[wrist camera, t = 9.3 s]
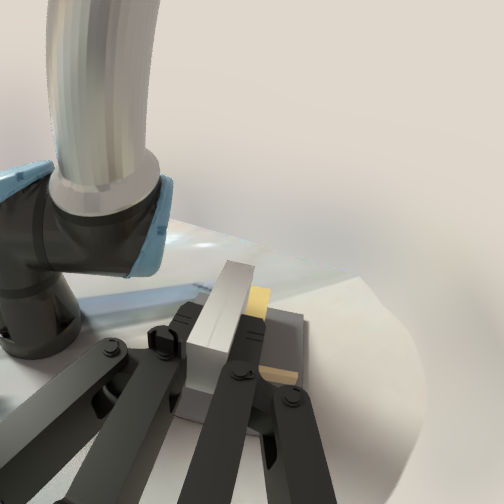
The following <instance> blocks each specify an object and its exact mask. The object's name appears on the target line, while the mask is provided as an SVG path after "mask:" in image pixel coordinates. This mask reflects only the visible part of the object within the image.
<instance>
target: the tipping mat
mask: <svg viewBox="0 0 504 504" xmlns="http://www.w3.org/2000/svg"><path fill="white" fill-rule="evenodd" d="M208 297H209V294H205V293H201V292H199V294H198V295H197V297H196V299H195V300H194V302H193V303H196V304H200V305H205V303H206V301H207V299H208ZM264 323H265V325H266V330H265V335H264V341H263V346H262V352H261V357H260V362H259V372H260V374H261V376H262V378H263V379H265V380H266V381H267V382H269V383H270V384H272V385H274V386H276V387H278V388H279V387H281V386H283V385H296V386H298V387H300V388H302V384H303V314H297V313H292V312H287V311H282V310H277V309H273V308H268V307H267V312H266V316H265V321H264ZM185 384H186V381H185V383H184V385H183V388H182V397H181V400H180V402H179V404H178V407H177V409H176V412H175V414H174V415H175V416H179V417H182V418H185V419H189V420H192V421H196V422H199V423H203V424H204V421H205V418H206V415H207V412H208V409H209V406H210V403H211V400H212V397H213V394H209V393H205V392H202V391H198V390H195V389H191V388H188V387H185ZM246 434H251V435H256V436H259V432H257V431H255V430H253V429H251V428H249V427H247V431H246Z"/></svg>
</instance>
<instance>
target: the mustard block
mask: <svg viewBox="0 0 504 504" xmlns="http://www.w3.org/2000/svg"><path fill="white" fill-rule="evenodd" d="M270 292H271V290H270V289H266V288H261V287H256V286H252V285H251V288H250V294H249V299H248V304H247V308H246V312H245V315H249V316H254V317H258V318H263V320H264V321H265V316H266V312H267V307H268V302H269V297H270Z"/></svg>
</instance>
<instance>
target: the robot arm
mask: <svg viewBox="0 0 504 504" xmlns="http://www.w3.org/2000/svg"><path fill="white" fill-rule="evenodd" d="M159 4H160V0H48V9H47V27H46V68H47V86H48V98H49V108H50V117H51V124H52V131H53V137H54V144H55V150H56V155H57V160H58V165H57V166H56V168H55V167H54V164H53V162H52V161H50V160H49V161H38V162H33V163H28V164H25V165H21V166H17V167H14V168H11V169H7V170H4V171H2V172H0V344H1V346H2V347H3V348H4V349H5V350H6V351H7V352H8V353H10V354H11V355H13V356H16V357H19V358H23V359H39V358H44V357H48V356H51V355H53V354H56V353H58V352H59V351H61V350H63V349H64V348H66V347H67V346H68V345H69V344H70V343H71V342H72V341H73V340H74V339H75V338H76V336H77V335H78V333H79V331H80V328H81V323H82V318H81V313H80V308H79V304H78V302H77V299H76V298H75V296H74V294H73V292H72V291H71V289H70V287H69V285H68V283H67V281H66V280H65V278H64V276H63V274H62V272H66V273H79V274H91V275H102V276H114V277H123V278H126V279H127V278H130V277H149V276H152V275H154V274H155V273H156V272H157V271H158V270H159V268H160V265H161V261H162V257H163V252H164V246H165V240H166V229H167V226H168V221H169V216H170V209H171V202H172V194H173V180H172V179H171V178H170V177H166V176H165V175H163V174H162V175H160V168H159V163H158V160H157V158H156V157H155V156H154V154H153V153H152V152H151V151H149V150H148V149H146V148H145V133H146V113H147V112H146V111H147V97H148V85H149V75H150V65H151V56H152V48H153V41H154V34H155V27H156V21H157V15H158V9H159ZM254 268H255V266H251V265H247V264H242V263H238V262H233V261H229V260H227V262H226V264H225V266H224V268H223V270H222V272H221V274H220V276H219V278H218V280H217V282H216V284H215V285H214V287H213V289H212V291H211V293H210V295H209V297H208V299H207V301H206V303H205V305H200V304H196V303H193V302H189V301H188V302H187V303H185V304H184V305H182V306H180V308H179V310H178V311H177V313H176V315H175V316H174V318H173V320H172V321H171V323H170V324H169V326H165V325H162V326H156V327H154V328H151V329H150V330H149V331H148V332H147V334H148V346H149V348H147V349H130V348H127V346H126V344H125V343H124V342H123V341H122V340H120V339H118V338H105V339H103V340H101V341H99V342H98V343H97V344H95V345H94V346H93V347H92V348H90V349H89V350H88V351H86V352H85V353H84V354H83V355H81V356H80V357H79V358H78V359H76V360H75V361H74V362H73V363H71V364H70V365H69V366H68V367H66V368H65V369H64V370H63V371H61V372H60V373H59V374H58V375H57V376H55V377H54V378H53V379H52V380H50V381H49V382H48V383H47V384H45V385H44V386H43V387H42V388H41V389H39V390H38V391H37V392H36V393H34V394H33V395H32V396H31V397H30V398H28V399H27V400H26V401H25V402H24V403H22V404H21V405H20V406H19V407H18V408H16V409H15V410H14V411H13V412H12V413H10V414H9V415H8V416H7V417H6V418H4V419H3V420H2V421H1V422H0V504H26V503H27V502H28V501H30V500H31V499H32V498H33V497H34V496H35V495H36V494H37V493H38V492H39V491H40V490H41V489H42V488H43V487H44V486H45V485H46V484H47V483H48V482H49V481H50V480H51V479H52V478H53V477H54V476H55V475H56V474H57V473H58V472H59V471H60V470H61V469H62V468H63V467H64V466H65V465H66V464H67V463H68V462H69V461H70V460H71V459H72V458H73V457H74V456H75V455H76V454H77V453H78V452H79V451H80V450H81V449H82V448H83V447H84V446H85V445H86V444H87V443H88V442H89V441H90V440H91V439H92V438H93V437H94V436H95V435H96V434H97V433H98V432H99V431H100V432H99V434H98V436H97V437H96V439H95V441H94V443H93V445H92V447H91V448H90V450H89V452H88V454H87V456H86V458H85V459H84V461H83V463H82V465H81V467H80V469H79V471H78V473H77V474H76V476H75V478H74V480H73V482H72V484H71V486H70V488H69V490H68V492H67V494H66V495H65V497H64V498H63V499H61V500H59V501H56V502H54V503H53V504H138V503H139V501H140V498H141V496H142V493H143V491H144V488H145V486H146V483H147V481H148V478H149V476H150V473H151V471H152V468H153V466H154V463H155V461H156V458H157V456H158V453H159V451H160V448H161V446H162V444H163V441H164V439H165V436H166V434H167V431H168V429H169V426H170V424H171V421H172V419H173V417H174V414H175V412H176V409H177V407H178V404H179V402H180V400H181V397H182V388H183V385H184V383H185V381H186V384H185V387H188V388H191V389H195V390H198V391H202V392H205V393H209V394H213V397H212V400H211V403H210V406H209V409H208V412H207V415H206V418H205V421H204V424H203V427H202V430H201V433H200V436H199V439H198V442H197V445H196V448H195V451H194V454H193V457H192V460H191V463H190V466H189V469H188V472H187V475H186V478H185V481H184V484H183V487H182V490H181V493H180V496H179V499H178V502H177V504H230V503H231V499H232V495H233V490H234V486H235V482H236V477H237V473H238V468H239V464H240V459H241V455H242V450H243V446H244V441H245V436H246V431H247V427H249V428H251V429H253V430H255V431H257V432H259V436H260V444H261V453H262V461H263V468H264V476H265V484H266V492H267V499H268V504H337V501H336V497H335V493H334V489H333V485H332V481H331V477H330V473H329V469H328V465H327V462H326V458H325V454H324V450H323V446H322V442H321V439H320V435H319V431H318V427H317V423H316V420H315V416H314V412H313V409H312V405H311V401H310V398H309V396H308V394H307V392H306V391H304V390H303V389H302V388H300V387H298V386H296V385H283V386H281V387H279V388H278V387H276V386H274V385H272V384H270V383H269V382H267V381H266V380H265V379H263V378H262V376H261V374H260V372H259V362H260V357H261V352H262V346H263V341H264V335H265V330H266V325H265V323H264V320H263V318H258V317H254V316H249V315H245V312H246V308H247V304H248V299H249V294H250V288H251V283H252V278H253V273H254Z"/></svg>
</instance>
